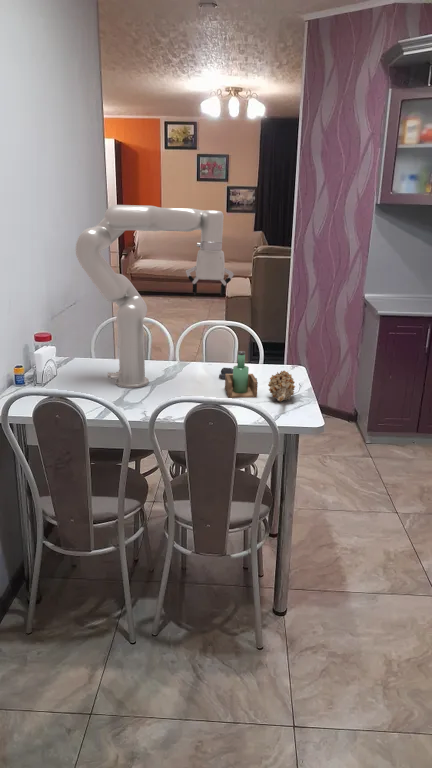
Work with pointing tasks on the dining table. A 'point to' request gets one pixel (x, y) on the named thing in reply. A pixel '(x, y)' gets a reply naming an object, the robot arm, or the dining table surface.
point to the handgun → (226, 371)
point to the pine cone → (282, 386)
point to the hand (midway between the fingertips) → (208, 295)
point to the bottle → (240, 375)
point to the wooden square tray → (250, 394)
